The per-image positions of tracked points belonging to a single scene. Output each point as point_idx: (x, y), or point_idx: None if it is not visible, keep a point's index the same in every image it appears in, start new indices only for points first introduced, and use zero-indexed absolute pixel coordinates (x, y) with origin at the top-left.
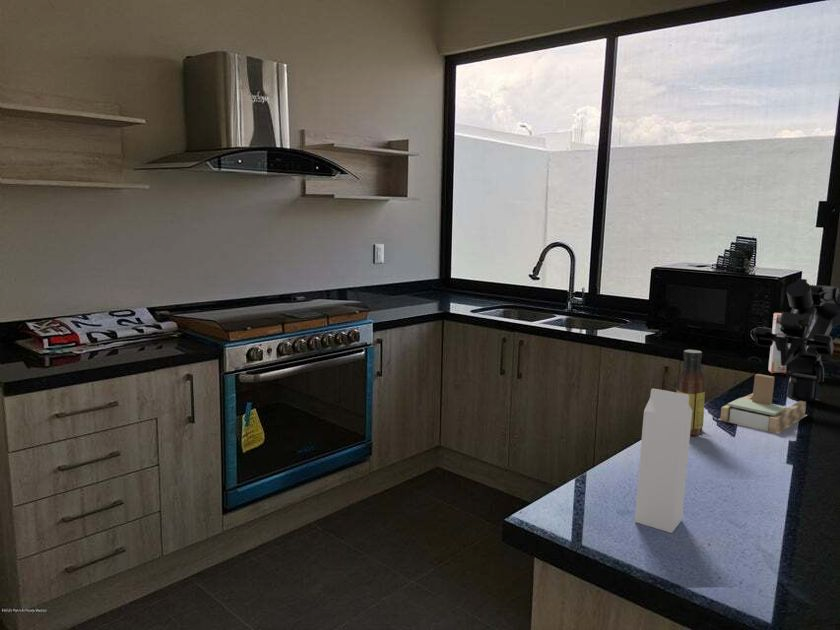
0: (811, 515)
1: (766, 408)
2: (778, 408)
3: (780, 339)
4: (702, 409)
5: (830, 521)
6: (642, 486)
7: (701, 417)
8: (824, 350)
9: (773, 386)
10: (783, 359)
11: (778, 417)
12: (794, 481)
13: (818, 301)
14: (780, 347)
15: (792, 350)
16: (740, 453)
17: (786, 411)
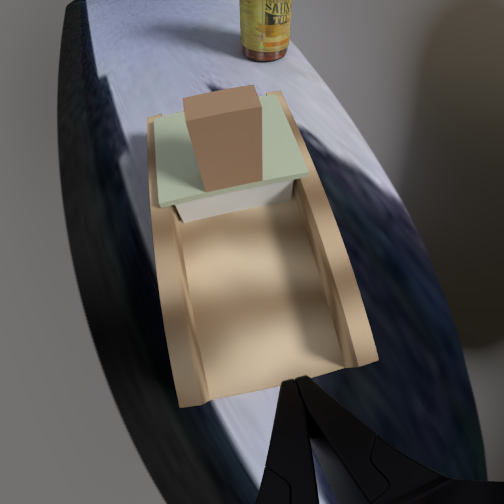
0: (73, 34)
1: (188, 134)
2: (166, 164)
3: (485, 500)
4: (240, 14)
5: (62, 39)
6: None
7: (240, 25)
8: None
9: (193, 149)
10: (306, 399)
11: (147, 130)
12: (90, 54)
13: None
14: (415, 466)
15: (270, 497)
16: (162, 53)
17: (156, 198)
